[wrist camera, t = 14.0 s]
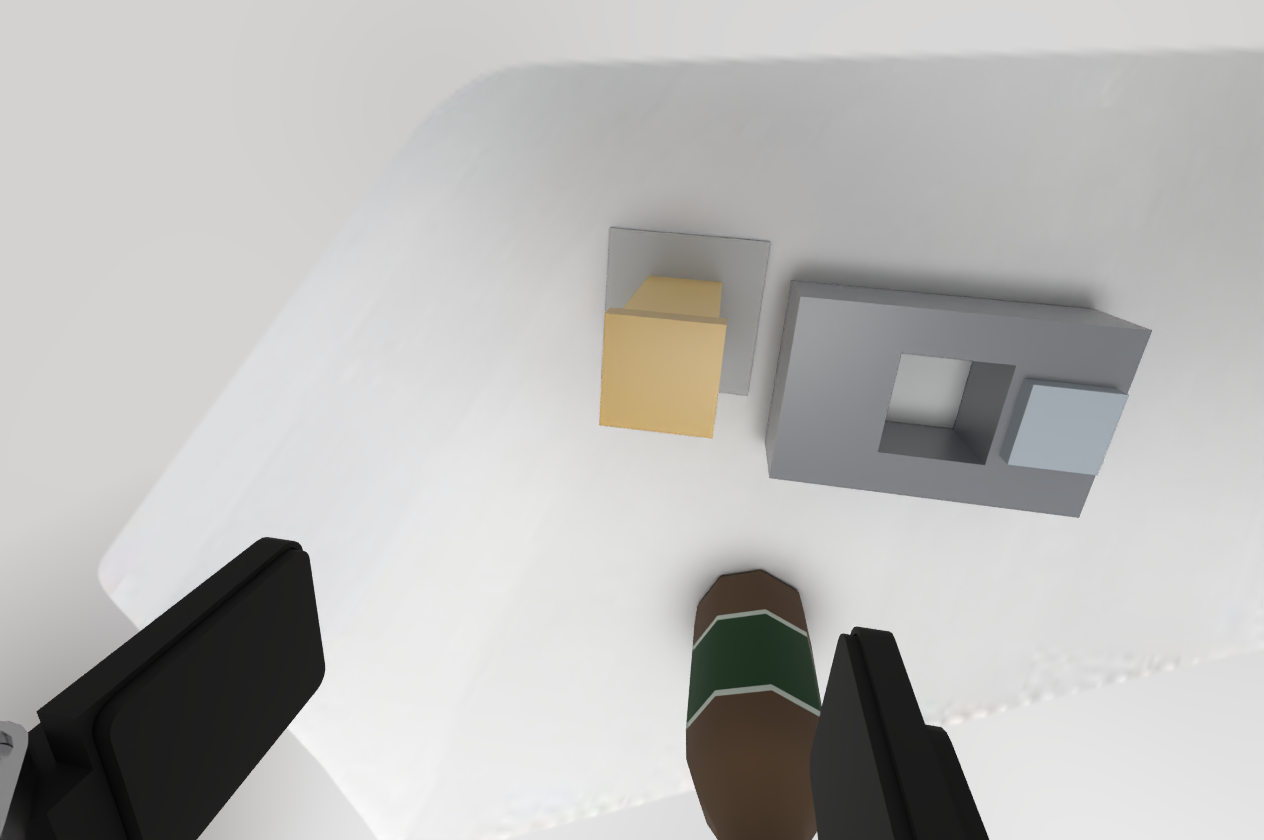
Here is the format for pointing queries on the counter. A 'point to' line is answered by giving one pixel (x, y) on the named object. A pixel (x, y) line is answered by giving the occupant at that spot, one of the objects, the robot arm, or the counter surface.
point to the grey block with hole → (991, 404)
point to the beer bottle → (753, 710)
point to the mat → (698, 260)
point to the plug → (664, 358)
